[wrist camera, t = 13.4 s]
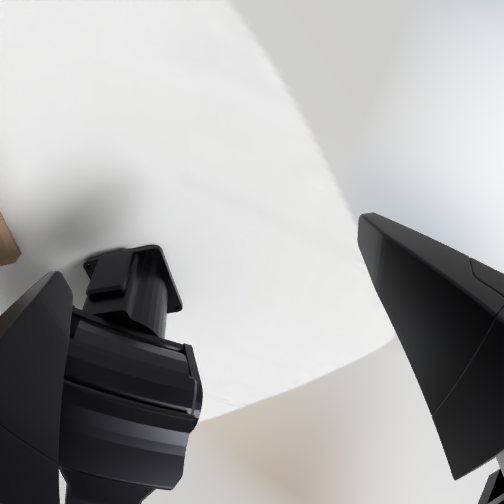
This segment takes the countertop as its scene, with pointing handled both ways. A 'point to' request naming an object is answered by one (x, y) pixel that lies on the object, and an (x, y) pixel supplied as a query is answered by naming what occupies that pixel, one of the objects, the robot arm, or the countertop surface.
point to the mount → (7, 245)
